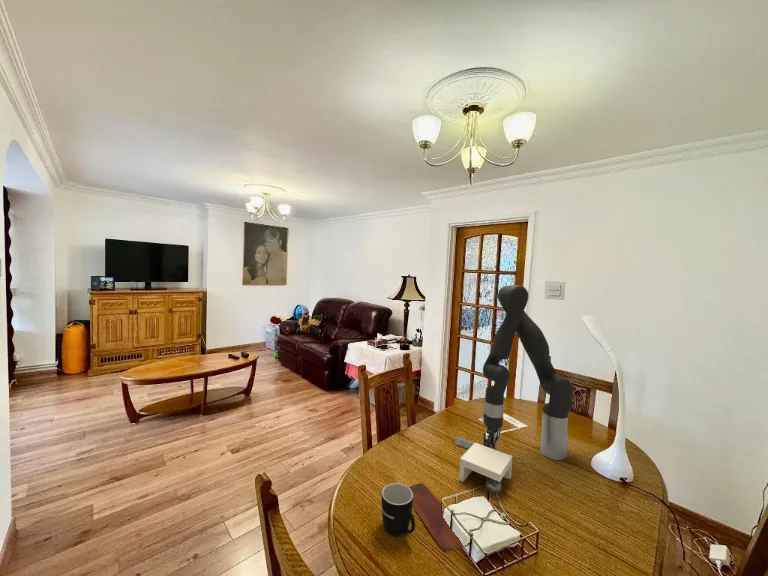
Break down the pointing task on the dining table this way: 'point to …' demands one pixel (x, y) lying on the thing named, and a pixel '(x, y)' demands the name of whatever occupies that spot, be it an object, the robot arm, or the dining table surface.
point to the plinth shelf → (485, 463)
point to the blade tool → (468, 444)
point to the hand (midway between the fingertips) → (491, 453)
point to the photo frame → (512, 421)
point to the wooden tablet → (433, 517)
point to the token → (493, 486)
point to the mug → (397, 509)
